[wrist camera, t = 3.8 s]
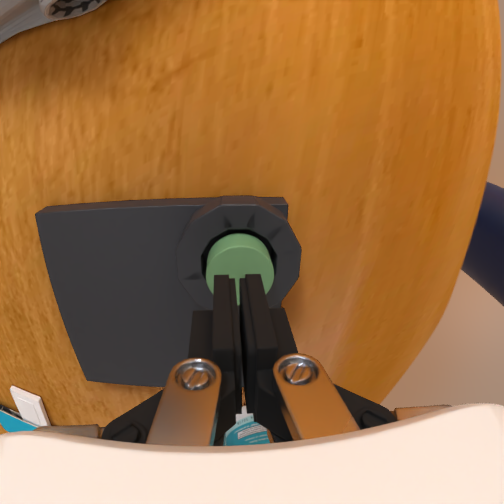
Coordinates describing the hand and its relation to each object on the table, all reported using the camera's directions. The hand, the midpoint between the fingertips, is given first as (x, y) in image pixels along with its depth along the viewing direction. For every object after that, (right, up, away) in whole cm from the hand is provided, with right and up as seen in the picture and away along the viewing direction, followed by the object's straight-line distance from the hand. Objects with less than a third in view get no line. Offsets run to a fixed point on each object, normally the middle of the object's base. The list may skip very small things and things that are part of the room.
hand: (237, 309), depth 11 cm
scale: (-5, -1, +7) cm, 9 cm away
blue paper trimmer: (-23, -17, +13) cm, 31 cm away
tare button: (0, +2, +4) cm, 4 cm away
